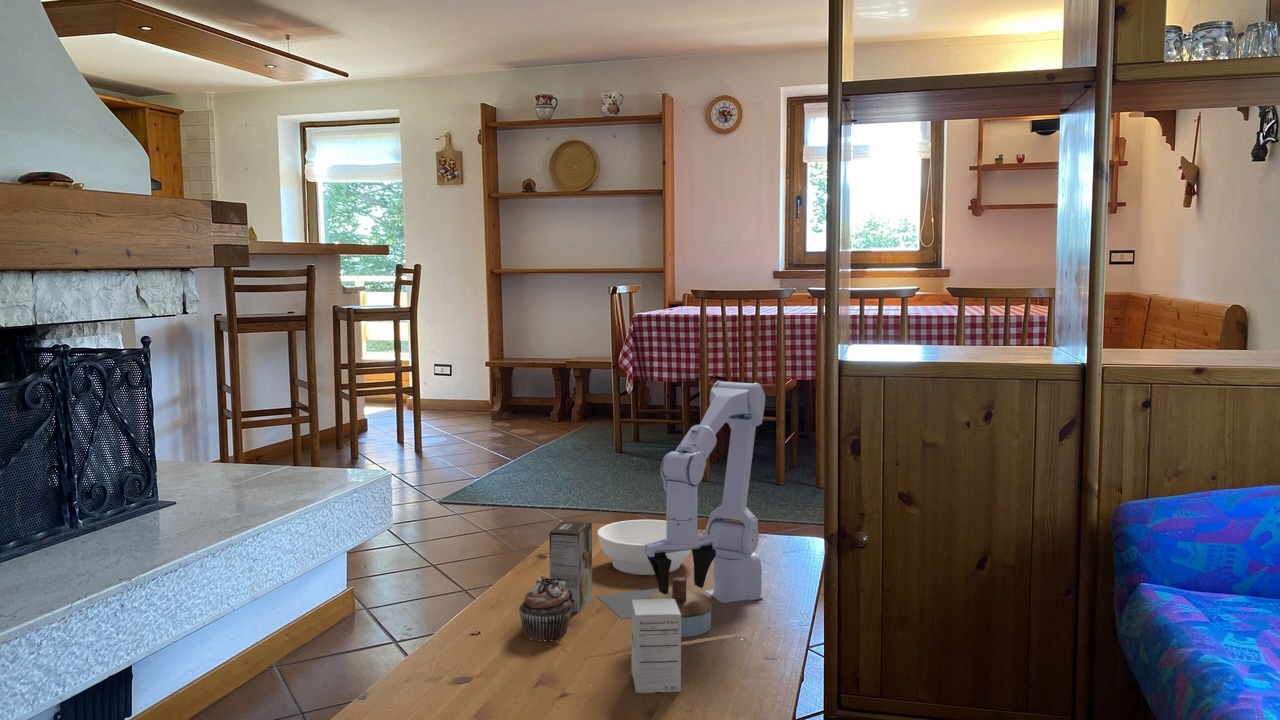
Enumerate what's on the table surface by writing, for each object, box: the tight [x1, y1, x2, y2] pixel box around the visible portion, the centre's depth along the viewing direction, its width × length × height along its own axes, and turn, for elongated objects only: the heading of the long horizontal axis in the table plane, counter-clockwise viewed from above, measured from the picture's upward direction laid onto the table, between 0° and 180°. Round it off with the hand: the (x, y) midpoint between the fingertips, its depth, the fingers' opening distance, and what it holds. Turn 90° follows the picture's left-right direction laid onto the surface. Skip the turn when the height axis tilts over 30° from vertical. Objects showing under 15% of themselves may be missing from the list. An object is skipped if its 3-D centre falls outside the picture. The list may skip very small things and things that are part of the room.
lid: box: [648, 577, 712, 617], centre depth 168 cm, size 12×12×5 cm
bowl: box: [596, 519, 692, 576], centre depth 205 cm, size 22×22×8 cm
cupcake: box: [518, 576, 572, 642], centre depth 165 cm, size 10×10×10 cm
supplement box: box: [631, 599, 682, 694], centre depth 144 cm, size 7×7×13 cm
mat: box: [595, 587, 660, 620], centre depth 180 cm, size 14×14×1 cm
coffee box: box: [549, 520, 593, 613], centre depth 179 cm, size 9×6×16 cm
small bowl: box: [681, 609, 712, 638], centre depth 168 cm, size 11×11×4 cm
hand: (681, 589), depth 167 cm, fingers open, 7 cm apart
